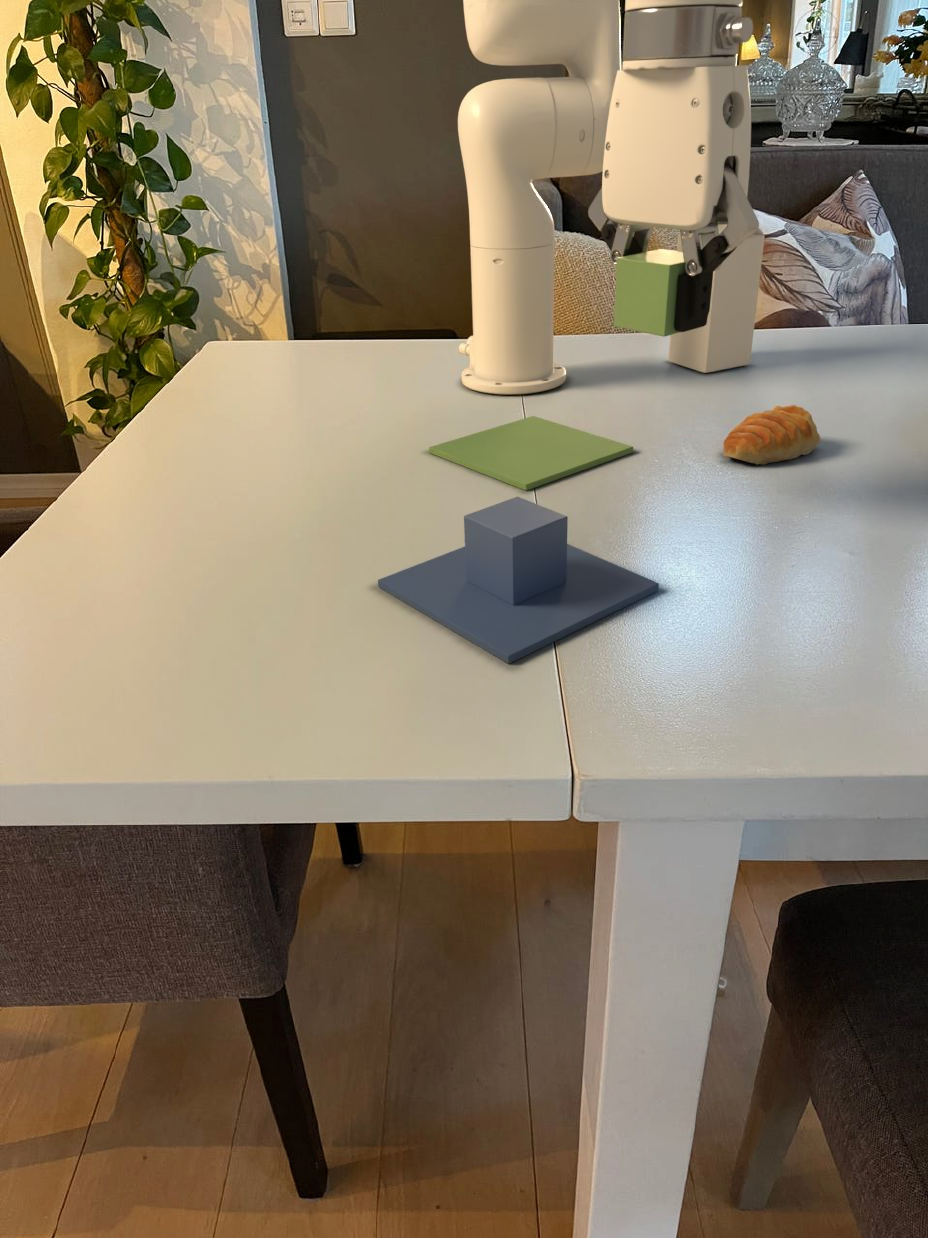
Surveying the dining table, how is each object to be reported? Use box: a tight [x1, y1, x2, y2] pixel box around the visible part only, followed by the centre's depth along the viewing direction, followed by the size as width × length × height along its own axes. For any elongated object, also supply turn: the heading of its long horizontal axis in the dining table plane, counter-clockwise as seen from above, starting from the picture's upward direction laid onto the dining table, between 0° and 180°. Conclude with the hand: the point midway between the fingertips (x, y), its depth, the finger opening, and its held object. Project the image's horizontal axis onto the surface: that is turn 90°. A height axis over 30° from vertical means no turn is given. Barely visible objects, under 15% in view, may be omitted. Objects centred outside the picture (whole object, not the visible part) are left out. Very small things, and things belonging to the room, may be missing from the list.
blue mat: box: [377, 543, 660, 665], centre depth 65 cm, size 14×14×1 cm
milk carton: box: [668, 224, 766, 374], centre depth 110 cm, size 7×7×19 cm
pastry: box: [723, 404, 821, 466], centre depth 86 cm, size 9×7×4 cm
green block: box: [613, 248, 707, 338], centre depth 69 cm, size 5×5×5 cm
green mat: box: [428, 415, 634, 492], centre depth 89 cm, size 14×14×1 cm
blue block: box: [463, 496, 569, 605], centre depth 63 cm, size 5×5×5 cm
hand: (660, 319), depth 70 cm, fingers closed on green block, 5 cm apart
